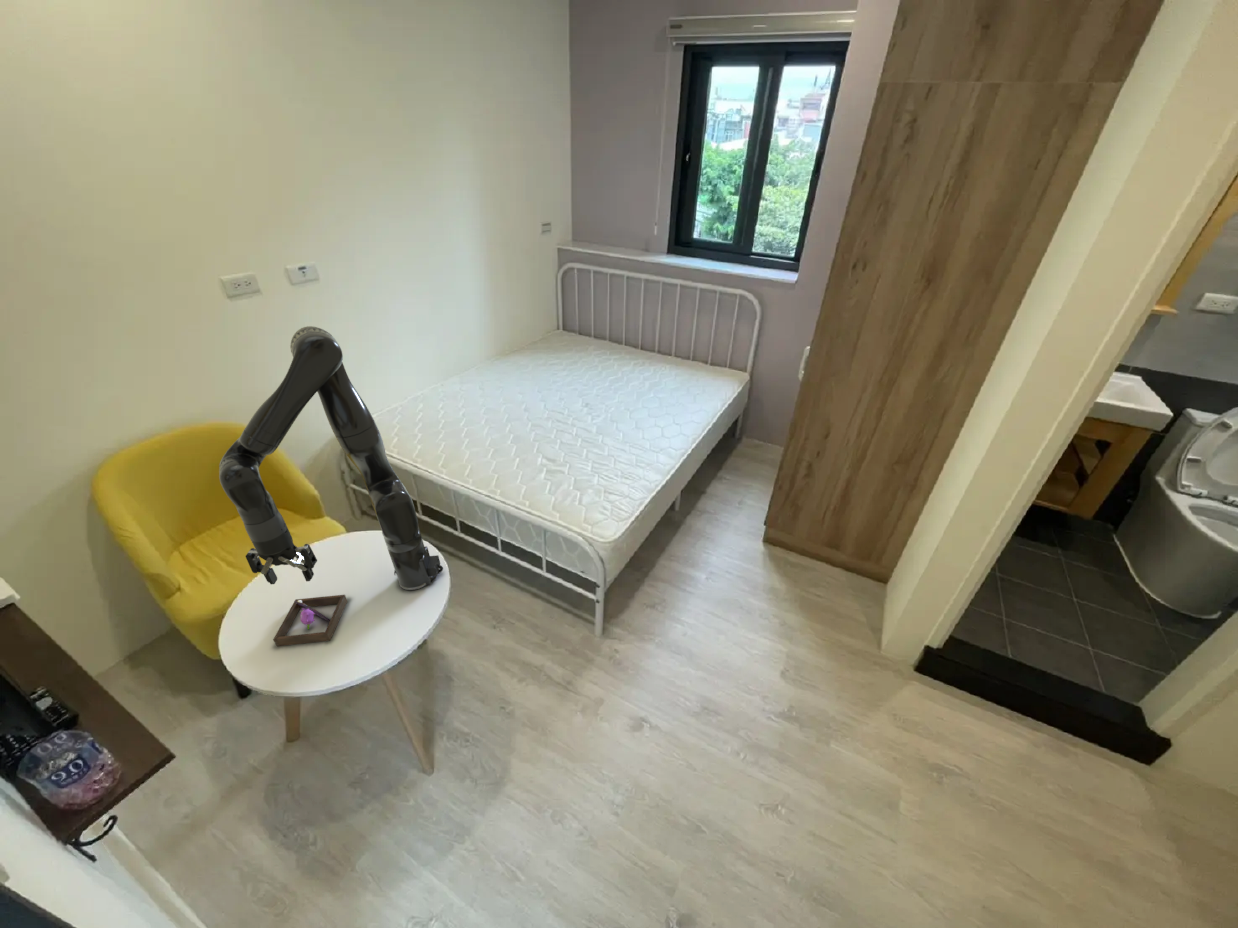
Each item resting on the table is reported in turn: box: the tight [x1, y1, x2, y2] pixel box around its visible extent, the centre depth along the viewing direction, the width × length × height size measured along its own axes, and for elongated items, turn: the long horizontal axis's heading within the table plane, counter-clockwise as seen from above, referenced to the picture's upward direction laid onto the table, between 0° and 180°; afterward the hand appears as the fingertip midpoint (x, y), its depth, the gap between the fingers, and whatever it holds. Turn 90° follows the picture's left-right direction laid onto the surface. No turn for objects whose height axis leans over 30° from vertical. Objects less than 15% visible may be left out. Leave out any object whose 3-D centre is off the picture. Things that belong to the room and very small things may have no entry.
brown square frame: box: [272, 594, 348, 647], centre depth 135 cm, size 13×14×3 cm
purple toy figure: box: [293, 599, 331, 630], centre depth 134 cm, size 7×5×9 cm
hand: (292, 580), depth 128 cm, fingers open, 8 cm apart
